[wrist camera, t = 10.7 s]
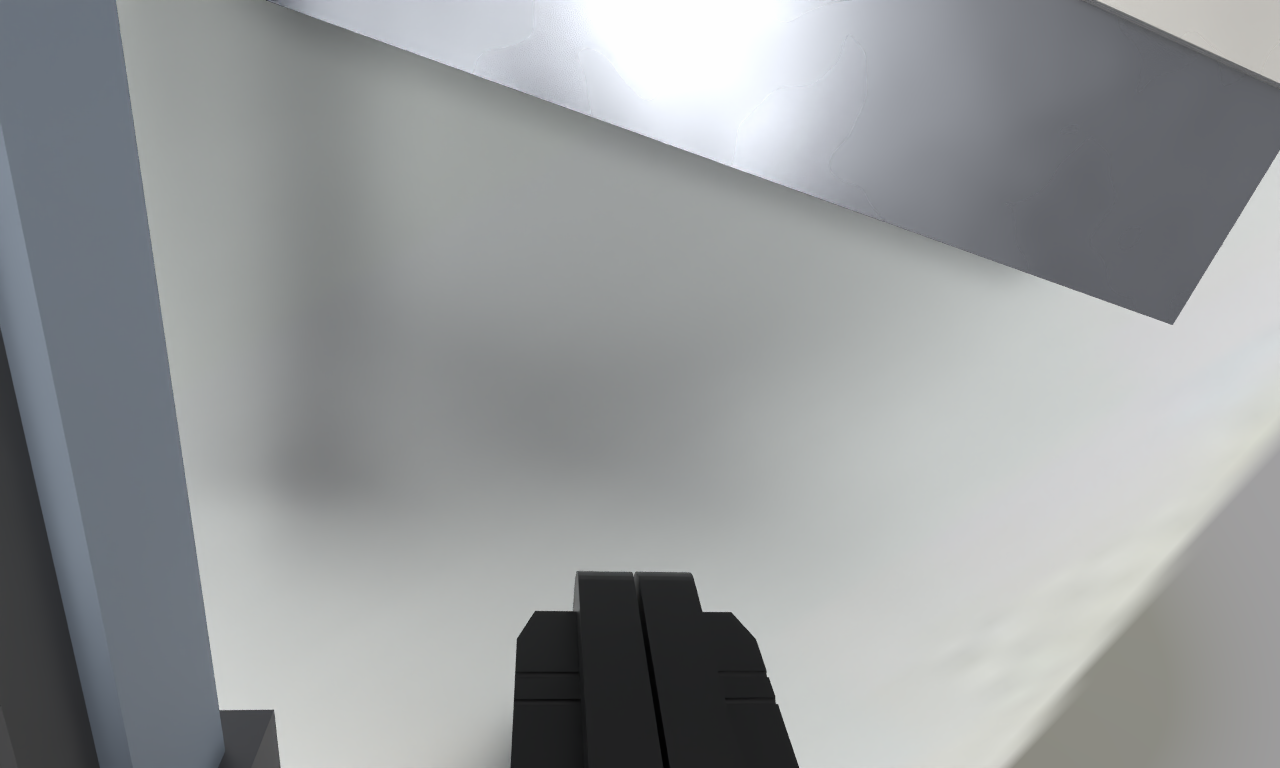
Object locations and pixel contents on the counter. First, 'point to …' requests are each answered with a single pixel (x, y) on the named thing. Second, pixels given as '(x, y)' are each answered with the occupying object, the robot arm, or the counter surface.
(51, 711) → the bar
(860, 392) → the counter surface
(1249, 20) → the grey block
